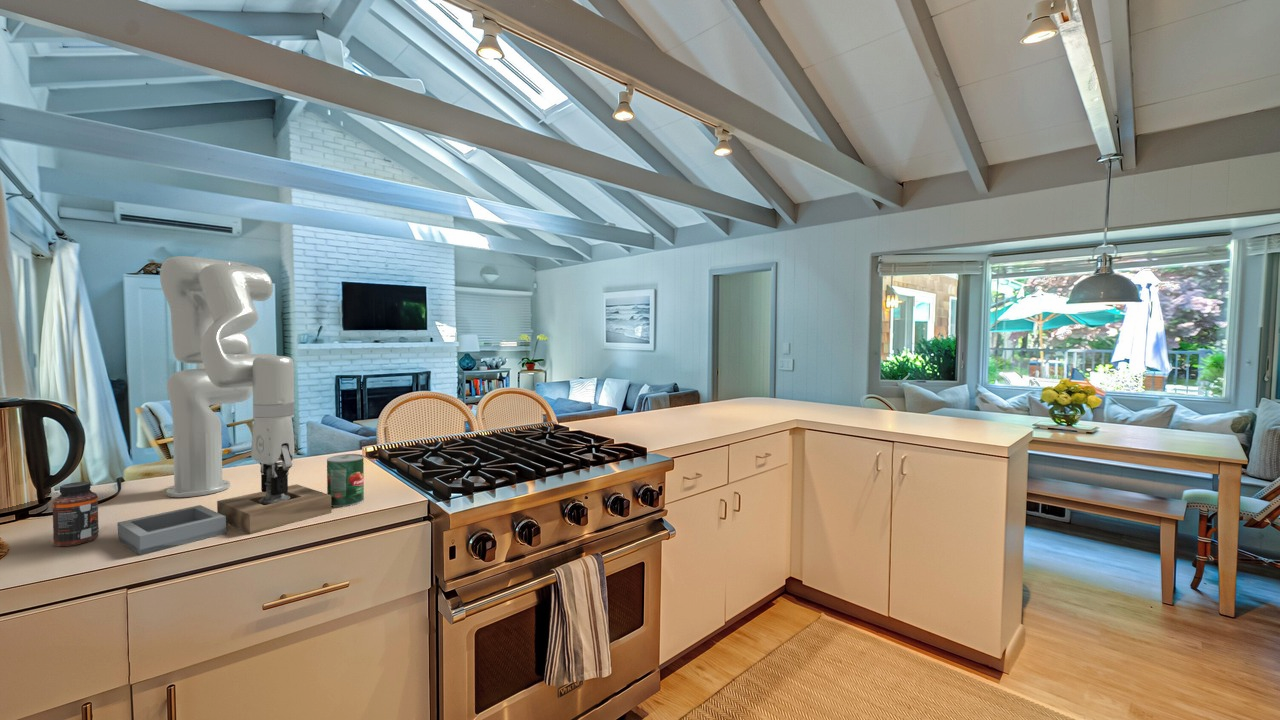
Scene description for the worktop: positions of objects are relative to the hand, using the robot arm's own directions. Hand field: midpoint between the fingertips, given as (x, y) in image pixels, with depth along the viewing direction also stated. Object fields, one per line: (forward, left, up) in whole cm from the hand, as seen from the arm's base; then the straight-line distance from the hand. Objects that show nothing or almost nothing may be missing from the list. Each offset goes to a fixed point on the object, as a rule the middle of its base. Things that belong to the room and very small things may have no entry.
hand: (274, 491), depth 116 cm
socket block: (0, 0, -5) cm, 5 cm away
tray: (-3, -17, -5) cm, 18 cm away
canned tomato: (+3, +14, -6) cm, 15 cm away
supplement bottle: (-15, -28, -6) cm, 32 cm away
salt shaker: (0, 0, -6) cm, 6 cm away
